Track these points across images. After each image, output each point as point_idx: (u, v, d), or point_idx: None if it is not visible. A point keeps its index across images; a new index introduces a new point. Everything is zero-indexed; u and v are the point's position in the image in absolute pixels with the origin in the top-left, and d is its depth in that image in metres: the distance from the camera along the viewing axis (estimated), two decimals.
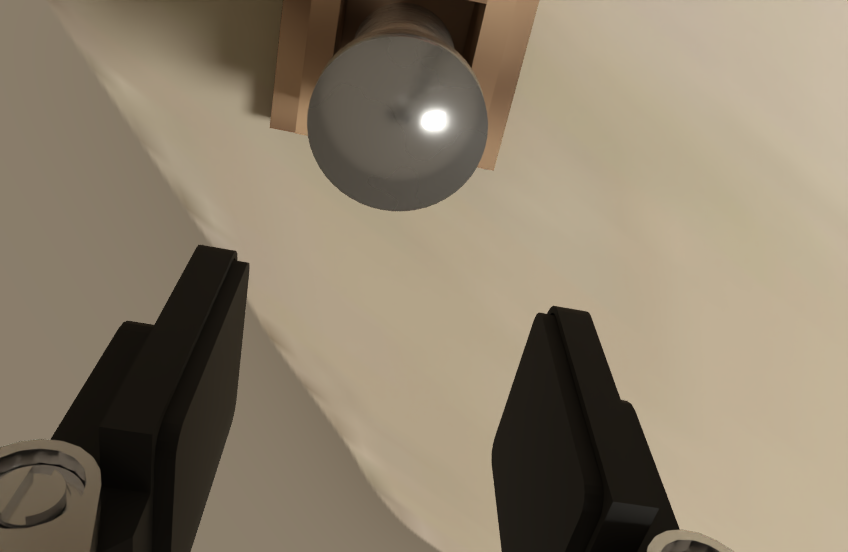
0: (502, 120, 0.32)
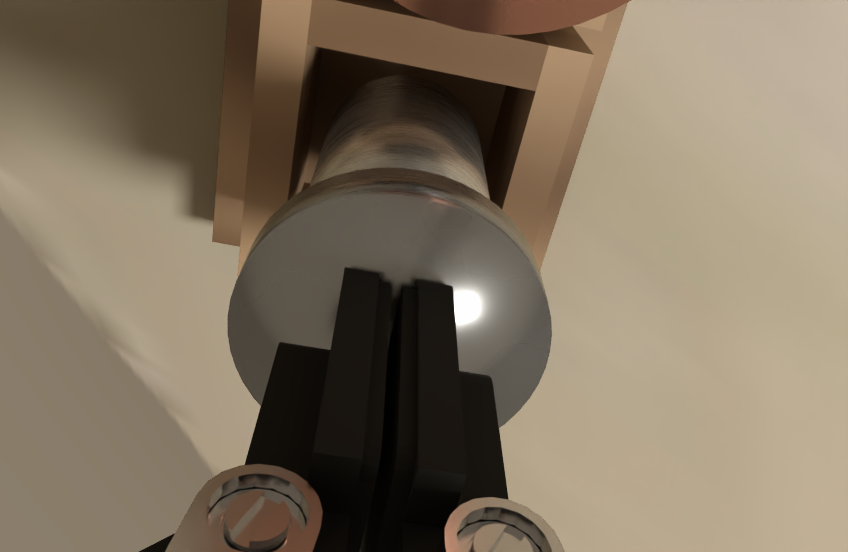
0: (545, 232, 0.23)
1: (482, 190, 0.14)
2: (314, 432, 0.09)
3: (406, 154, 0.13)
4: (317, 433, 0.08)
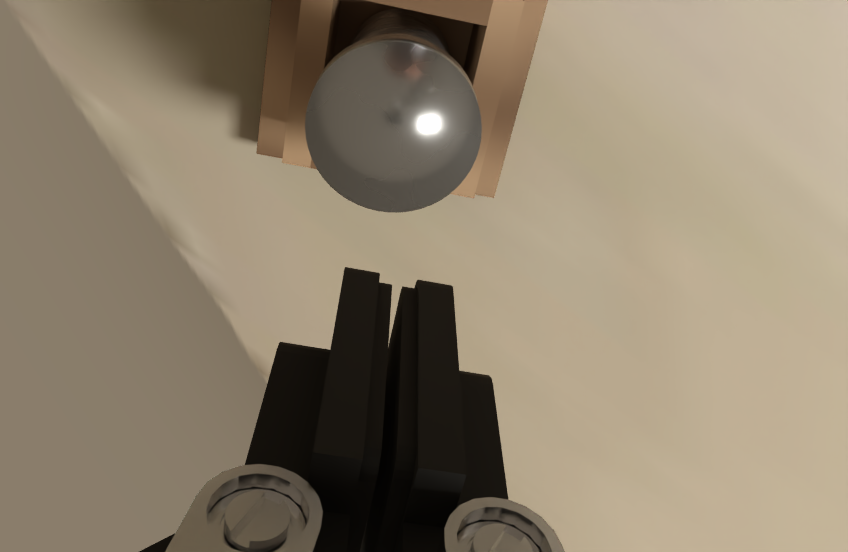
0: (502, 145, 0.31)
1: None
2: (314, 432, 0.09)
3: None
4: (318, 433, 0.08)
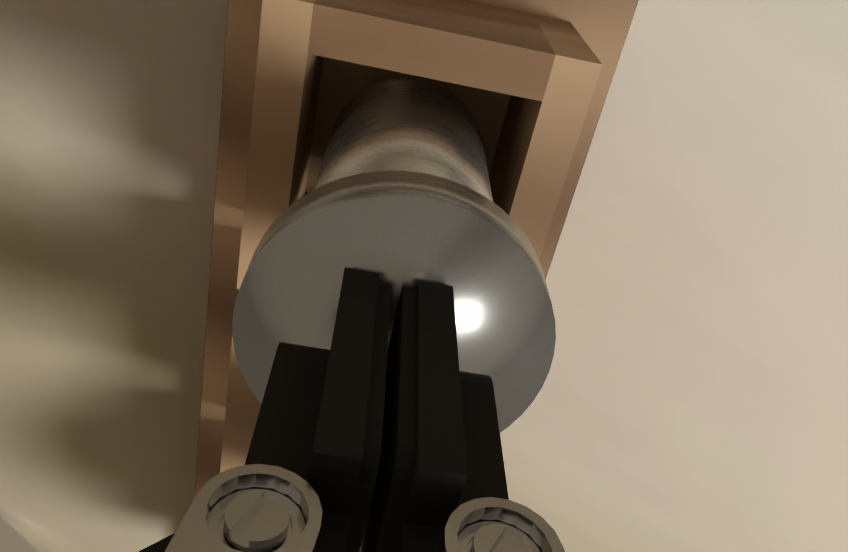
0: None
1: None
2: (314, 432, 0.09)
3: None
4: (317, 433, 0.08)
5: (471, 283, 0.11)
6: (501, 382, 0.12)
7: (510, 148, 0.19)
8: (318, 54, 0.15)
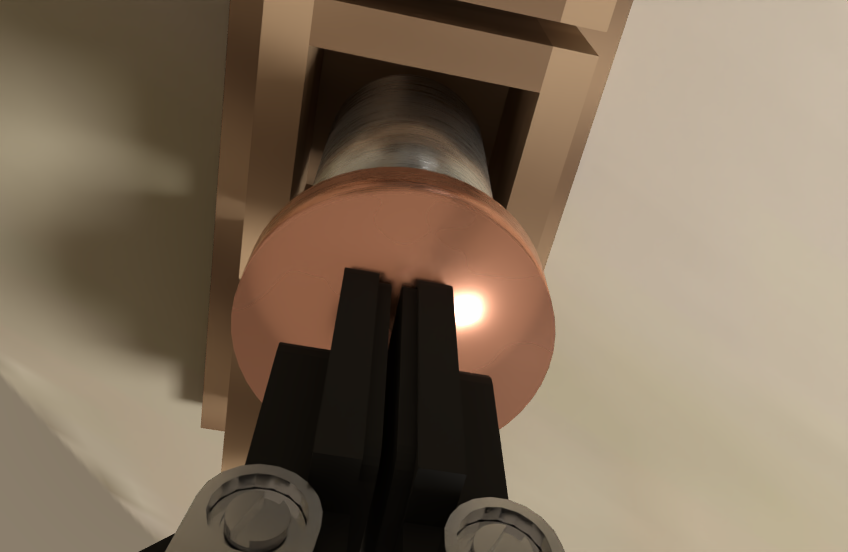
0: None
1: None
2: (314, 432, 0.09)
3: None
4: (317, 433, 0.08)
5: None
6: None
7: None
8: None
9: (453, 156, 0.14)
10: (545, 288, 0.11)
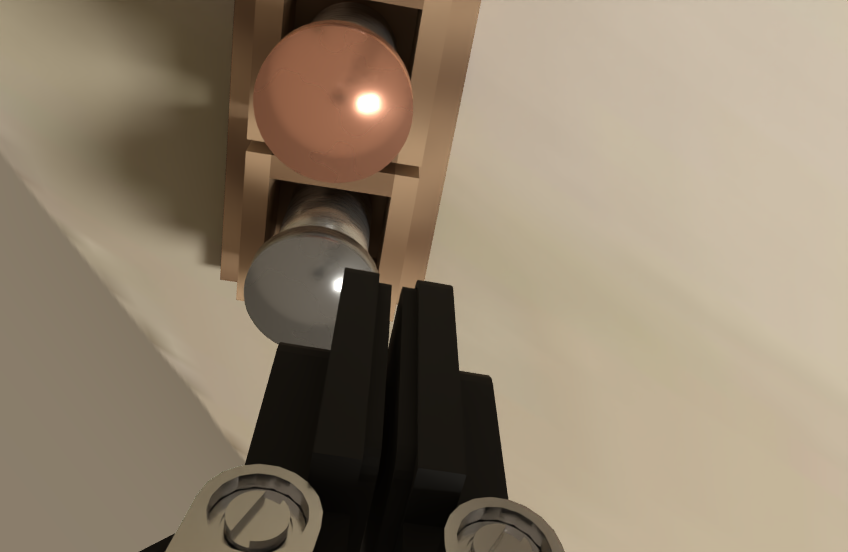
0: (422, 267, 0.37)
1: (359, 231, 0.30)
2: (315, 432, 0.09)
3: (320, 216, 0.30)
4: (318, 433, 0.08)
5: None
6: None
7: None
8: None
9: None
10: (404, 75, 0.23)
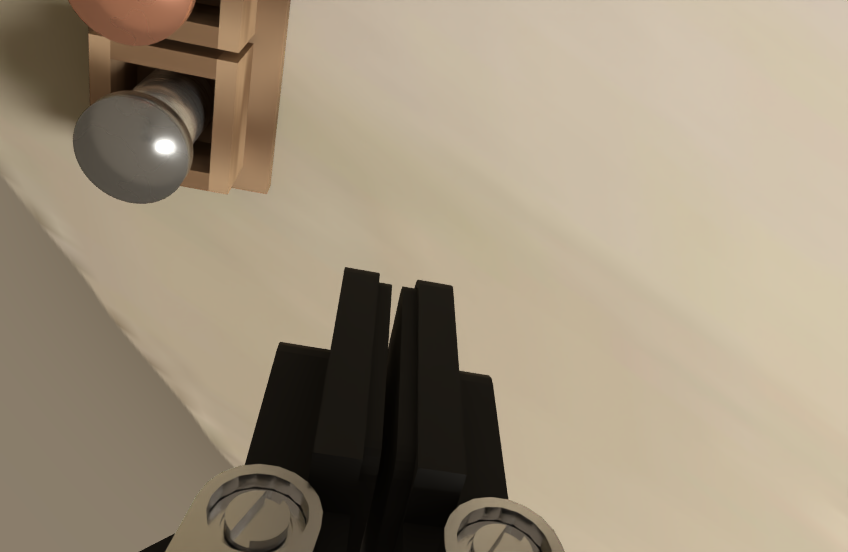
0: (266, 156, 0.43)
1: (185, 106, 0.36)
2: (315, 432, 0.09)
3: (149, 90, 0.35)
4: (318, 433, 0.08)
5: None
6: None
7: None
8: None
9: None
10: None
